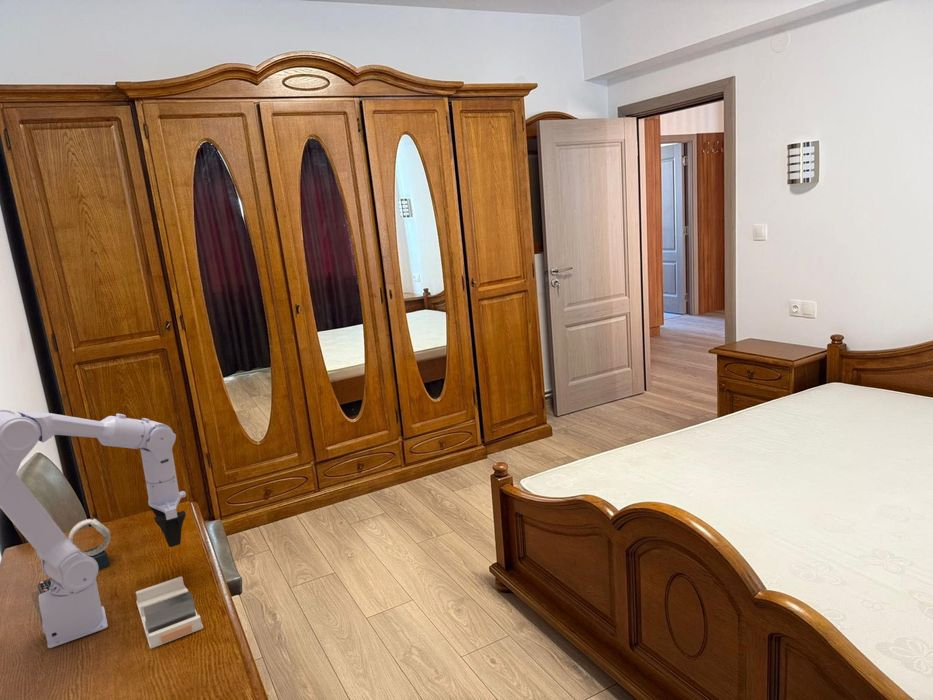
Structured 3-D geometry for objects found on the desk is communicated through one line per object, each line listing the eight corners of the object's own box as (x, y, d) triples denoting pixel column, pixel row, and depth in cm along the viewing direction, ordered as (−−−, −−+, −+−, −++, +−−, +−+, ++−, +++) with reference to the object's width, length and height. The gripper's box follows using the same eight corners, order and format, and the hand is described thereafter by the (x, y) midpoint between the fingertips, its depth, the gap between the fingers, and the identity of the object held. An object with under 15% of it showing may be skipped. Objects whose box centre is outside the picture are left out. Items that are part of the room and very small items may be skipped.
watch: (119, 562, 140) (110, 517, 137) (79, 578, 134) (69, 532, 132) (111, 554, 144) (102, 510, 141) (71, 569, 138) (62, 524, 136)
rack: (150, 650, 110) (148, 638, 109) (136, 602, 124) (134, 592, 123) (203, 629, 114) (201, 617, 114) (184, 586, 129) (182, 575, 128)
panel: (150, 640, 111) (145, 615, 110) (147, 631, 114) (143, 607, 113) (197, 622, 116) (193, 598, 115) (193, 614, 118) (189, 591, 117)
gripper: (189, 483, 124) (198, 545, 126) (175, 462, 135) (184, 519, 138) (150, 493, 120) (161, 557, 123) (139, 471, 131) (149, 529, 134)
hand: (171, 538), depth 130 cm, fingers open, 7 cm apart
